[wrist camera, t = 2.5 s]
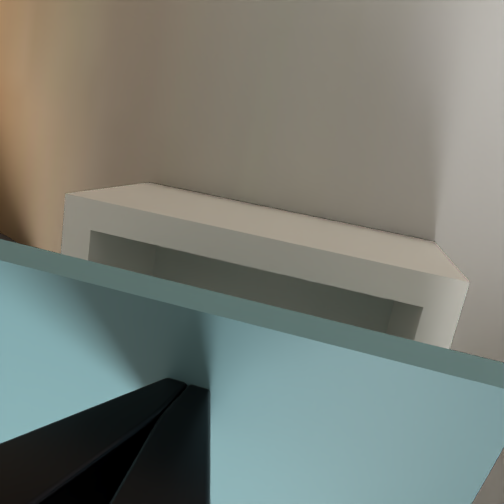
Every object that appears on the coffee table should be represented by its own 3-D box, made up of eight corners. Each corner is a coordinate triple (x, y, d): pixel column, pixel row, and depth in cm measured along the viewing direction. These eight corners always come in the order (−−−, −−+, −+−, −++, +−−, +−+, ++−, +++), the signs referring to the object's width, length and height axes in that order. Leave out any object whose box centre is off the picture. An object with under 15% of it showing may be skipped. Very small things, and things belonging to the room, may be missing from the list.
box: (434, 241, 15) (470, 282, 10) (351, 540, 18) (348, 682, 13) (149, 182, 17) (65, 193, 12) (115, 463, 20) (37, 563, 15)
